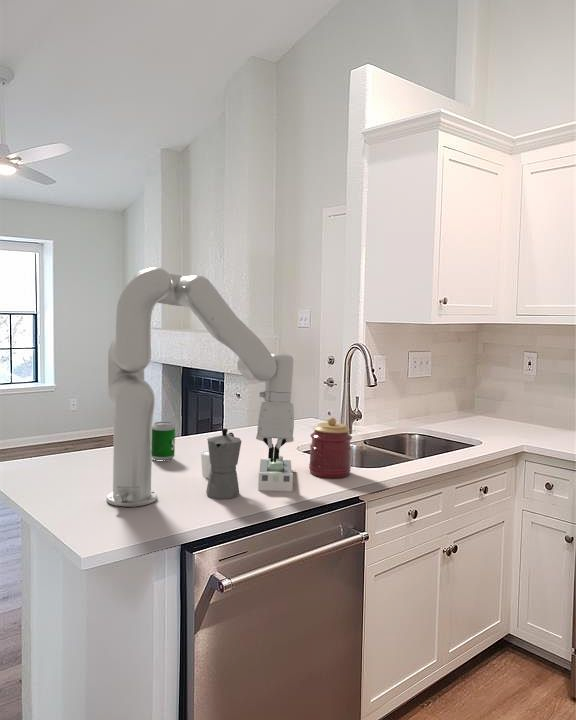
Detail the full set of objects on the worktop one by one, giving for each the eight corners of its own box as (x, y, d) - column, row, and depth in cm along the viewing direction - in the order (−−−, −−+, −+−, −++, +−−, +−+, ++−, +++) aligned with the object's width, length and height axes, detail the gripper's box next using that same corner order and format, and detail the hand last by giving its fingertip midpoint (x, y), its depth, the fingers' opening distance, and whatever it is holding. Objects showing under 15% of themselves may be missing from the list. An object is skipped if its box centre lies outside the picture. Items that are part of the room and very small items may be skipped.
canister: (358, 476, 188) (361, 420, 186) (323, 480, 181) (325, 422, 180) (335, 466, 199) (337, 413, 198) (301, 470, 193) (303, 415, 191)
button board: (292, 491, 169) (293, 474, 169) (258, 490, 169) (258, 472, 169) (290, 469, 193) (290, 454, 192) (260, 468, 193) (260, 453, 192)
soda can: (168, 463, 195) (169, 426, 195) (147, 461, 197) (147, 424, 196) (177, 457, 203) (178, 422, 202) (156, 455, 204) (157, 420, 203)
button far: (282, 467, 186) (283, 458, 186) (268, 467, 186) (268, 458, 186) (282, 464, 190) (282, 455, 190) (268, 463, 190) (268, 455, 190)
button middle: (283, 474, 179) (283, 464, 179) (268, 473, 179) (268, 464, 179) (282, 470, 183) (283, 460, 183) (268, 469, 183) (268, 460, 183)
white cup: (201, 479, 178) (202, 455, 178) (199, 473, 185) (199, 450, 184) (225, 478, 180) (225, 455, 179) (221, 472, 187) (222, 450, 186)
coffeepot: (233, 503, 157) (235, 434, 156) (198, 500, 159) (200, 432, 157) (247, 486, 172) (249, 424, 171) (214, 484, 174) (216, 421, 172)
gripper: (250, 397, 168) (246, 462, 169) (304, 400, 169) (299, 466, 170) (251, 393, 176) (247, 456, 177) (303, 397, 176) (298, 459, 177)
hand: (273, 461), depth 173 cm, fingers closed
